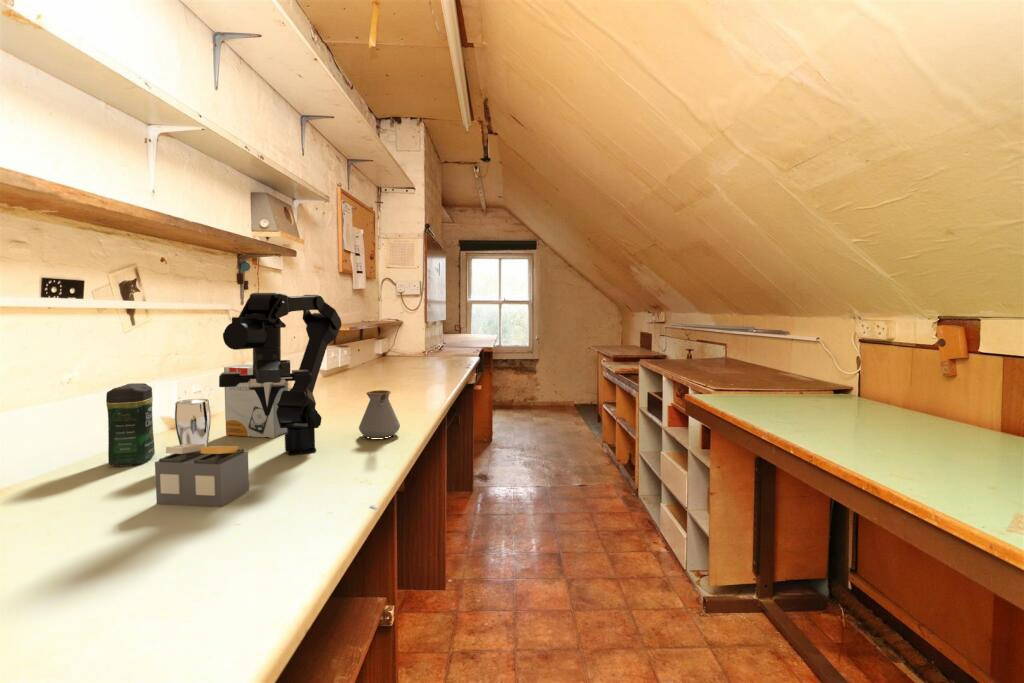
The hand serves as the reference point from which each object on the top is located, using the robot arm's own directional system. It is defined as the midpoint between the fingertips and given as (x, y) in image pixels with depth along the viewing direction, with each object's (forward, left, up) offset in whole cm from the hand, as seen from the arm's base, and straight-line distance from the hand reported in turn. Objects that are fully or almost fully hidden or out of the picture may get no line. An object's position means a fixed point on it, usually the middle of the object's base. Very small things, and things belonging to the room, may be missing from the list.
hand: (267, 415), depth 111 cm
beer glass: (+15, -10, -12) cm, 22 cm away
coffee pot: (-29, -10, -12) cm, 33 cm away
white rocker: (+15, +12, -3) cm, 19 cm away
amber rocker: (+9, +16, -3) cm, 18 cm away
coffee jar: (+28, -20, -12) cm, 37 cm away
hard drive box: (+1, -34, -12) cm, 36 cm away
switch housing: (+12, +14, -12) cm, 22 cm away
